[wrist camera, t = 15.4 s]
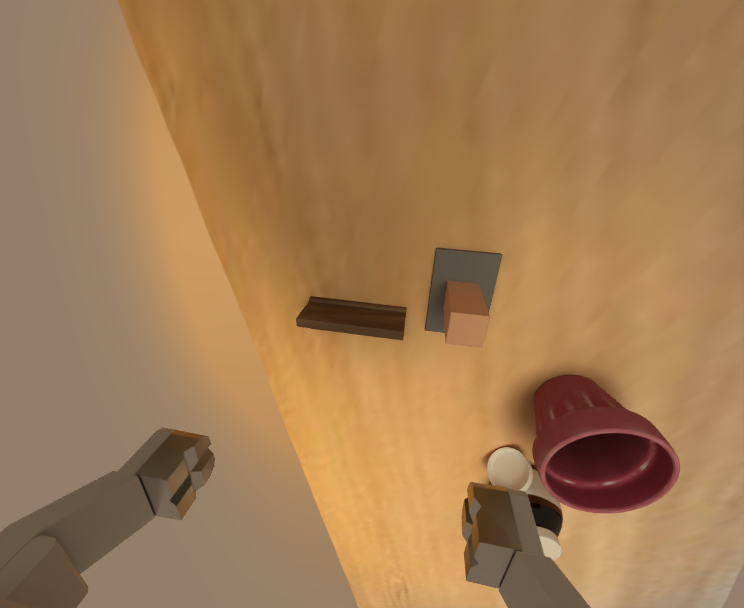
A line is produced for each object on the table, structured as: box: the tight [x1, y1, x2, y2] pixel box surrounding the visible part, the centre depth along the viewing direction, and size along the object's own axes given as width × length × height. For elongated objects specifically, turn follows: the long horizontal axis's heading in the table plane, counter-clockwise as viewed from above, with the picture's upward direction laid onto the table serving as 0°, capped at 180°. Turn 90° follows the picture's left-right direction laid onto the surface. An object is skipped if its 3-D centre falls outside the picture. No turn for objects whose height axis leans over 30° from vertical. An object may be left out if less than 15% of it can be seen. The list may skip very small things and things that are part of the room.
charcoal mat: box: [425, 248, 502, 333], centre depth 44 cm, size 12×8×1 cm, turn 178°
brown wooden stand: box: [296, 297, 406, 340], centre depth 46 cm, size 5×14×6 cm, turn 88°
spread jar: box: [487, 447, 563, 561], centre depth 52 cm, size 12×11×12 cm
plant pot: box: [532, 375, 680, 513], centre depth 43 cm, size 14×14×13 cm
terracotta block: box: [443, 281, 490, 348], centre depth 40 cm, size 4×4×9 cm
